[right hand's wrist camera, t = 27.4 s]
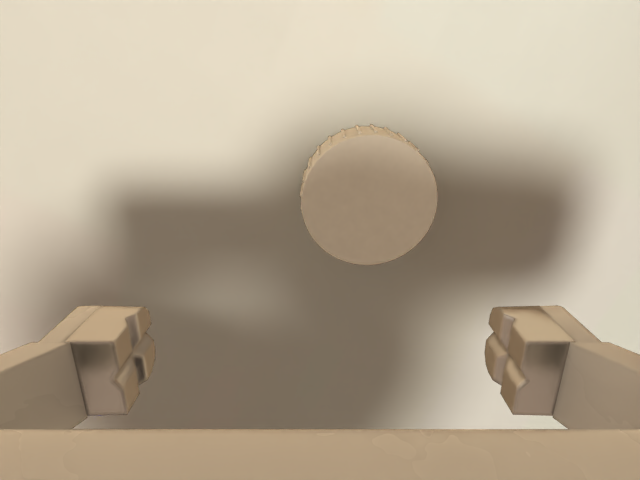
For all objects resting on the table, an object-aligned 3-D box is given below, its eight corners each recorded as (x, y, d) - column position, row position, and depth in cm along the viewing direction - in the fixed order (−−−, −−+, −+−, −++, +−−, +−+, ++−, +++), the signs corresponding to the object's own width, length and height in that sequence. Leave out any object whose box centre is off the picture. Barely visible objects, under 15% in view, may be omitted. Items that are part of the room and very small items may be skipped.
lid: (408, 253, 20) (418, 276, 18) (293, 233, 19) (289, 255, 17) (441, 136, 18) (457, 147, 16) (313, 113, 17) (312, 120, 15)
